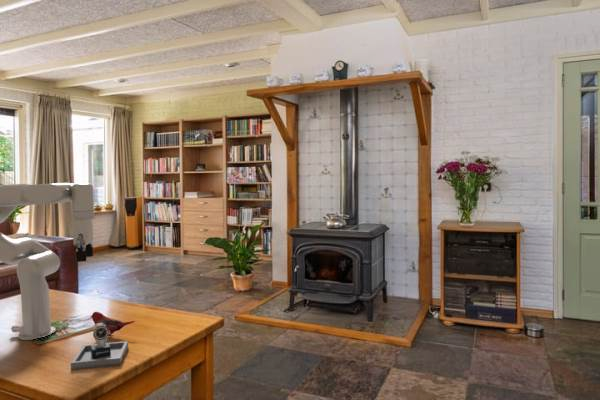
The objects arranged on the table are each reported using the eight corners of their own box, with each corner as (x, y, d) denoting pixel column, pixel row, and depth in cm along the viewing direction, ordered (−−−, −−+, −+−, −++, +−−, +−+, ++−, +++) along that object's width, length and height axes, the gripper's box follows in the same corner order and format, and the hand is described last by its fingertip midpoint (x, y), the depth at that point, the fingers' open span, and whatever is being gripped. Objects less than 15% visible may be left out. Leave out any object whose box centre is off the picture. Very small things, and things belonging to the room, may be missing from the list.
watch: (93, 361, 145) (92, 329, 144) (90, 353, 152) (89, 322, 151) (112, 357, 148) (110, 325, 147) (107, 349, 155) (106, 319, 154)
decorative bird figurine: (92, 335, 170) (91, 310, 170) (137, 335, 170) (136, 310, 169) (88, 338, 167) (87, 312, 167) (134, 338, 167) (133, 312, 166)
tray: (71, 370, 140) (70, 363, 140) (83, 351, 155) (83, 345, 155) (120, 365, 143) (120, 358, 143) (128, 347, 158) (128, 341, 158)
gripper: (79, 213, 176) (81, 255, 177) (65, 217, 159) (67, 264, 160) (99, 212, 177) (100, 254, 179) (87, 217, 161) (89, 262, 162)
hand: (85, 258), depth 169 cm, fingers open, 9 cm apart
